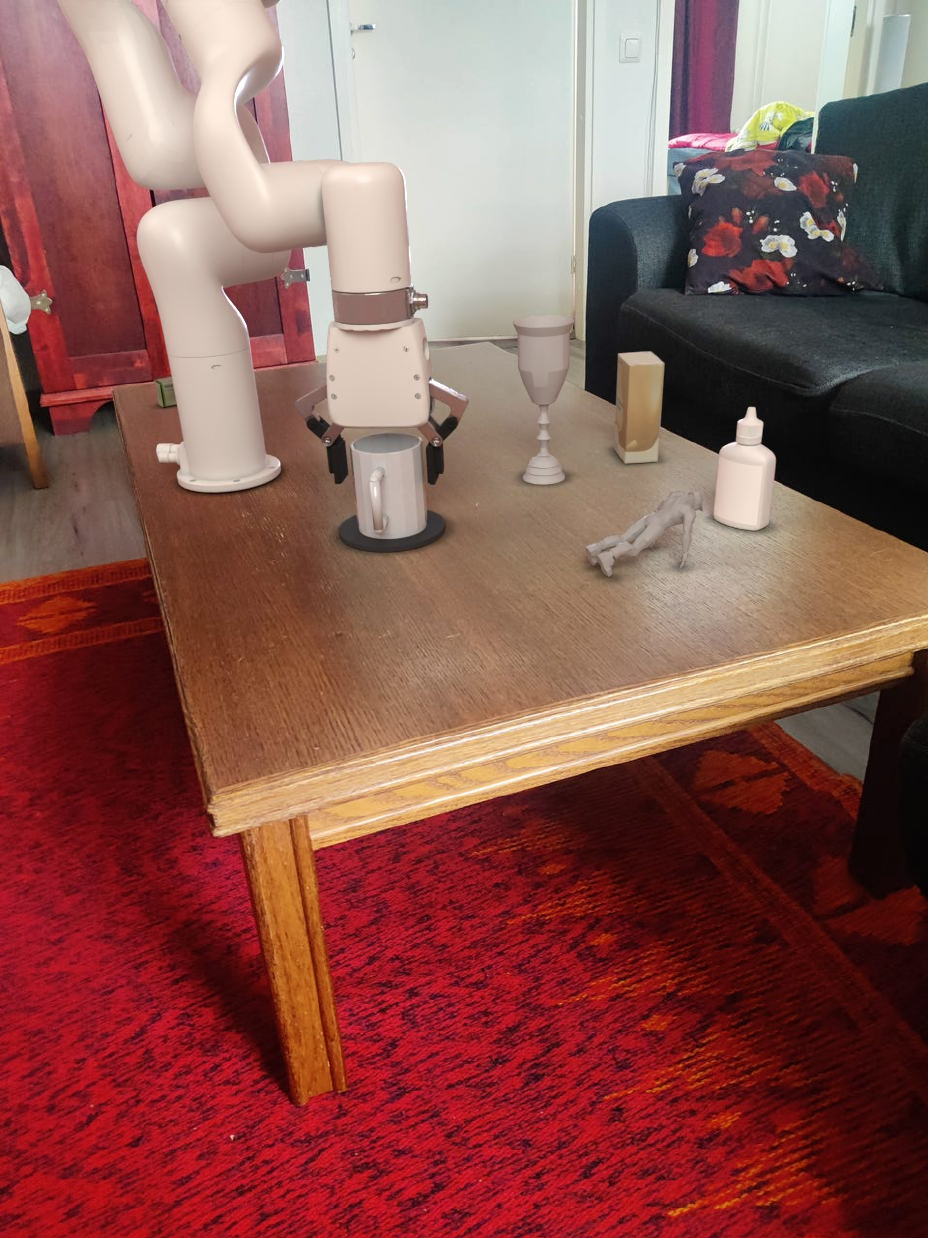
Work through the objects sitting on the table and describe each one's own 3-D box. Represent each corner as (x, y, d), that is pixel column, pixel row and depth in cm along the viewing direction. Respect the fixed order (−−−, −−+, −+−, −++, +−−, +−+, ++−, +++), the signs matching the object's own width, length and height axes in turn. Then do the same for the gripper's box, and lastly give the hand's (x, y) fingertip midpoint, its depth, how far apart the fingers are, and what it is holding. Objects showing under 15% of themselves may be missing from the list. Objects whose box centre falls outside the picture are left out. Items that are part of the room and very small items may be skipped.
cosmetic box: (612, 449, 121) (616, 352, 115) (646, 447, 121) (651, 349, 116) (624, 465, 115) (628, 363, 110) (659, 462, 116) (665, 361, 110)
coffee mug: (366, 513, 103) (359, 432, 99) (432, 513, 102) (426, 432, 98) (344, 551, 94) (334, 464, 90) (415, 552, 93) (409, 464, 89)
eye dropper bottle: (734, 535, 95) (745, 417, 89) (708, 516, 100) (717, 403, 94) (774, 529, 96) (787, 412, 90) (746, 510, 101) (757, 398, 95)
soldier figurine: (624, 605, 88) (730, 541, 89) (607, 559, 85) (717, 493, 86) (591, 579, 93) (692, 518, 94) (574, 535, 90) (678, 473, 91)
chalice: (569, 488, 109) (570, 327, 101) (510, 486, 110) (507, 327, 102) (575, 467, 115) (577, 314, 107) (520, 466, 117) (517, 315, 108)
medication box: (162, 408, 149) (158, 383, 147) (156, 403, 151) (152, 379, 149) (233, 392, 155) (230, 368, 153) (226, 388, 157) (223, 364, 155)
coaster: (327, 551, 96) (326, 546, 96) (353, 511, 106) (352, 506, 105) (436, 553, 94) (436, 547, 94) (452, 511, 104) (452, 506, 104)
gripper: (469, 298, 92) (475, 468, 100) (296, 302, 94) (315, 467, 102) (458, 313, 85) (466, 493, 93) (272, 316, 87) (295, 492, 95)
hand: (387, 480), depth 97 cm, fingers open, 9 cm apart
